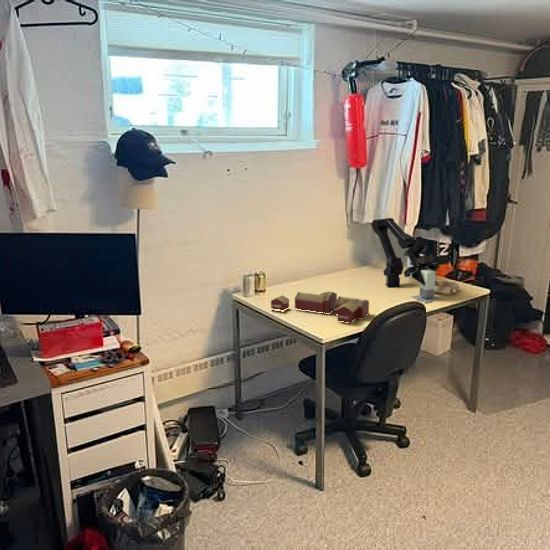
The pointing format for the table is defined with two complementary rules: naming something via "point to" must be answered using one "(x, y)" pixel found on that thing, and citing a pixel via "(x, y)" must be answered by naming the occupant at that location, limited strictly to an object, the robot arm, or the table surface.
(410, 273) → the small box
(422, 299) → the coaster
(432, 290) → the box
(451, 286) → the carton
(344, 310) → the toy houses
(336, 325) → the table surface
